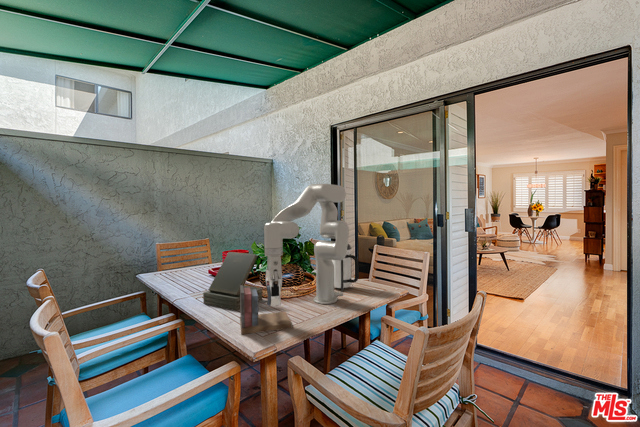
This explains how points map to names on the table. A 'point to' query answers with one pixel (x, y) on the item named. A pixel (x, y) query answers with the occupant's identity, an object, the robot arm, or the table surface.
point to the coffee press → (345, 271)
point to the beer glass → (271, 300)
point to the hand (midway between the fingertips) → (273, 293)
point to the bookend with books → (256, 322)
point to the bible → (231, 281)
